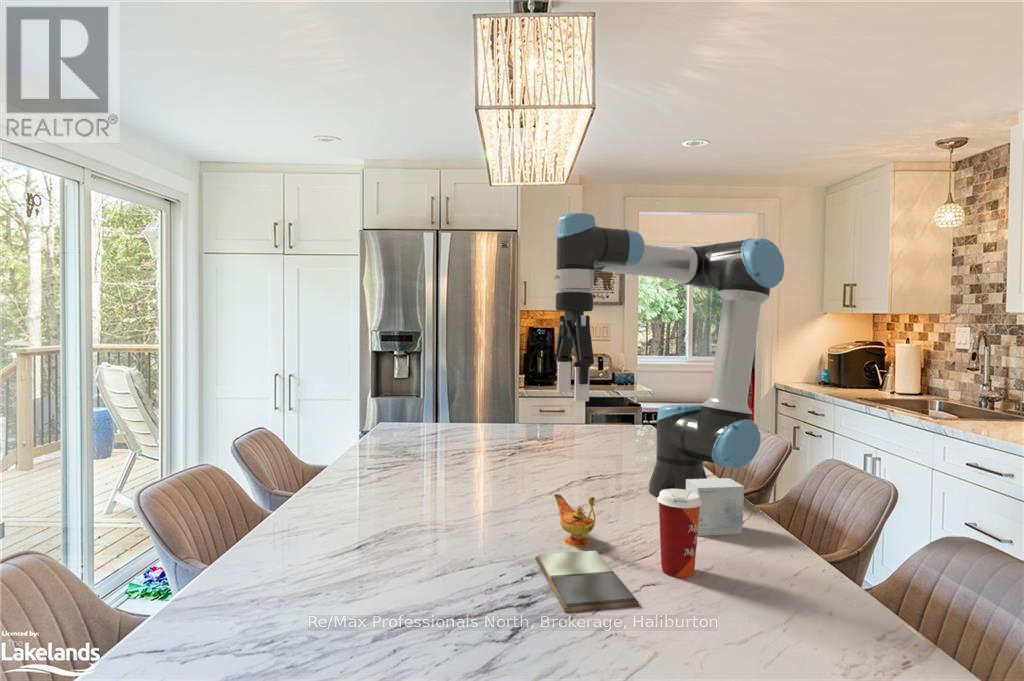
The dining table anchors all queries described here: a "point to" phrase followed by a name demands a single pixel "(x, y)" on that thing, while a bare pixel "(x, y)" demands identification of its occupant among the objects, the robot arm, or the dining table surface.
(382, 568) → the dining table surface
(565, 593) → the wooden framed mirror
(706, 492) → the skincare box
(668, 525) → the paper cup
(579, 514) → the magic lamp
